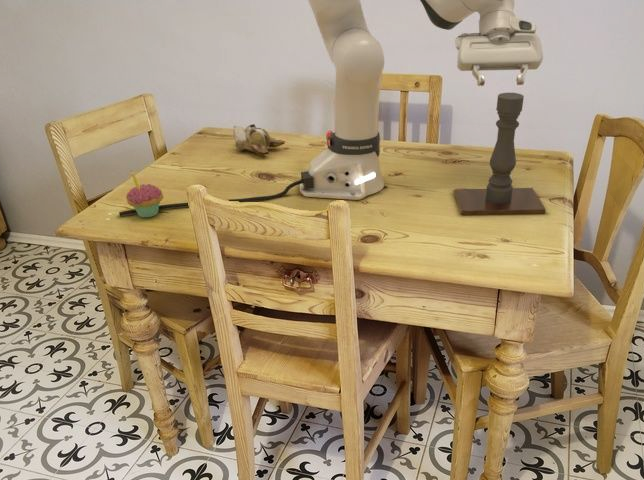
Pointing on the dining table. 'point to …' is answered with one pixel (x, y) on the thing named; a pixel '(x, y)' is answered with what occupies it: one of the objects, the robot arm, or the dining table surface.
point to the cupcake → (144, 198)
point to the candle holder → (504, 148)
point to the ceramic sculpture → (254, 139)
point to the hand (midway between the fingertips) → (500, 84)
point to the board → (478, 205)
